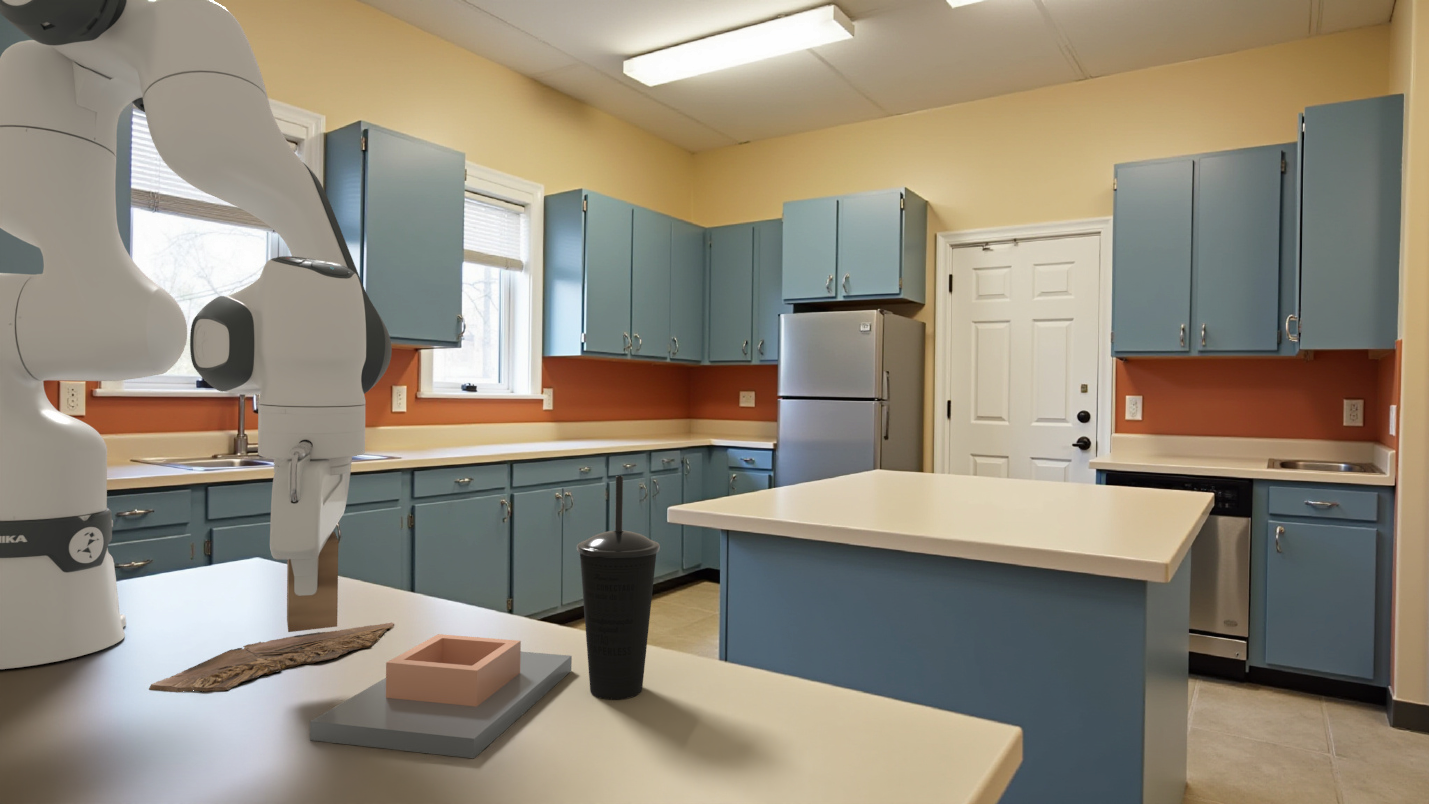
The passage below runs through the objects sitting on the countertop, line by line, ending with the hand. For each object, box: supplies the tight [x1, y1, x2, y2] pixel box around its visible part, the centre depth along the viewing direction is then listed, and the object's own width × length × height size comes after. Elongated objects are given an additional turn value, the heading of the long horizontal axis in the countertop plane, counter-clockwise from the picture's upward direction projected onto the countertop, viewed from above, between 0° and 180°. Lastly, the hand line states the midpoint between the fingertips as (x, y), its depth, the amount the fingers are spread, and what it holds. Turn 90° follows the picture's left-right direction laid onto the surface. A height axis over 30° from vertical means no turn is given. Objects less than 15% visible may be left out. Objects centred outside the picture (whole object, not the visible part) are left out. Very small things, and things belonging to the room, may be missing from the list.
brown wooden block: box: [286, 531, 339, 633], centre depth 76 cm, size 4×4×8 cm
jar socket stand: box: [309, 633, 573, 759], centre depth 73 cm, size 14×20×4 cm
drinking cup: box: [576, 475, 661, 700], centre depth 76 cm, size 8×8×20 cm
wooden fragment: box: [148, 622, 395, 693], centre depth 85 cm, size 26×11×1 cm, turn 146°
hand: (311, 584), depth 76 cm, fingers closed on brown wooden block, 4 cm apart
